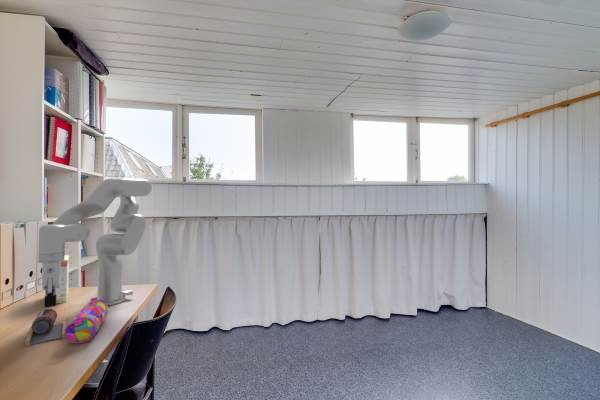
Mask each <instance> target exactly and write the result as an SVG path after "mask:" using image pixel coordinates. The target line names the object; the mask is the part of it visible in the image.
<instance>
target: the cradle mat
mask: <svg viewBox="0 0 600 400" xmlns="http://www.w3.org/2000/svg"><path fill="white" fill-rule="evenodd" d="M67 320H68V319H63V321H62V323H56V324H54V325H53V327H52V328H51V329H50V330H49V331H47V332H45V333H35V332H34V331H33V330H32V325H30V327H29V331H28V333H27V336H26V338H25V342H24V347H29V346H33V345H37V344H42V343H47V342H52V341H56V340H61V339H67V338H66V336H65V328H66V326H67V325H68V323H67V322H68V321H67Z"/></svg>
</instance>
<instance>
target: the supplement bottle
mask: <svg viewBox="0 0 600 400" xmlns="http://www.w3.org/2000/svg"><path fill="white" fill-rule="evenodd" d="M57 318H58V312H57V311H56V310H55V309H53V308H46V309H43V310H41V311H40V312H38V314H37V315H36V317H35V318H34V320H33V322H32V324H31V326H32V330H33V331H34V332H35V333H45V332H47V331H49V330H50V329H51V328H52V327H53V325H55V322H56V321H57Z"/></svg>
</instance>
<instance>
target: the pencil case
mask: <svg viewBox="0 0 600 400" xmlns="http://www.w3.org/2000/svg"><path fill="white" fill-rule="evenodd" d="M108 314H109V305H108V306H107V304H106V302H105V301H103V300H97V297H96V296H95V297H92V298H90V300H89V301H88V302H87V303H86V304H85V305H83V308H82V309H81V310H80V311H79V313H78V314H77V315H76V316H75V318H73V319H72V320H71V321H70V322H69V323H67V326H66V328H65V336H66V338H65V339H66V340H67V341H68V342H70V343H73V344H83V343H84V344H85V343H87V342H89V341H90V340H91V339H92V338H94V337H95V335H96V333H97V332H98V330H100V328H101V326H102V325H103V322H104V321H105V320H106V319H107V316H108Z"/></svg>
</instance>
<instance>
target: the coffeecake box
mask: <svg viewBox="0 0 600 400" xmlns="http://www.w3.org/2000/svg"><path fill="white" fill-rule="evenodd" d="M69 261H70V255H69V254H65V257H64V261H61V285H60V288H56V304H60V303H66V302H67V301H68V296H69V274H70V273H69V271H70V270H69V268H70V266H69V264H70V262H69Z"/></svg>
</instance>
